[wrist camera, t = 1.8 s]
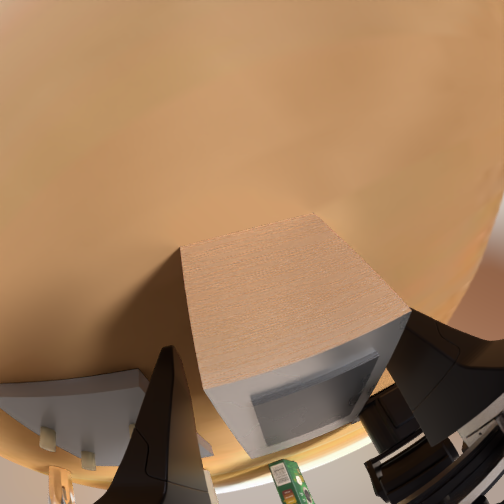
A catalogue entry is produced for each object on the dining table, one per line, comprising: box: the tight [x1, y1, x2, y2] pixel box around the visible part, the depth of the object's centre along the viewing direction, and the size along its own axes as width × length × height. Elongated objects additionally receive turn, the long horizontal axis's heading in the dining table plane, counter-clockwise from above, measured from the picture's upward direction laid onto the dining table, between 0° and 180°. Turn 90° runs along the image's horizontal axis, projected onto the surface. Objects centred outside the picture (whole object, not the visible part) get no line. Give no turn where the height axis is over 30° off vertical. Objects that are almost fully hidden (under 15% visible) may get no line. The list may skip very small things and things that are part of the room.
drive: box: [180, 213, 412, 459], centre depth 9 cm, size 7×4×5 cm, turn 8°
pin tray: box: [0, 369, 214, 471], centre depth 13 cm, size 14×12×2 cm
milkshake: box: [48, 466, 76, 504], centre depth 15 cm, size 4×5×10 cm
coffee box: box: [268, 459, 315, 504], centre depth 26 cm, size 8×3×13 cm, turn 23°
